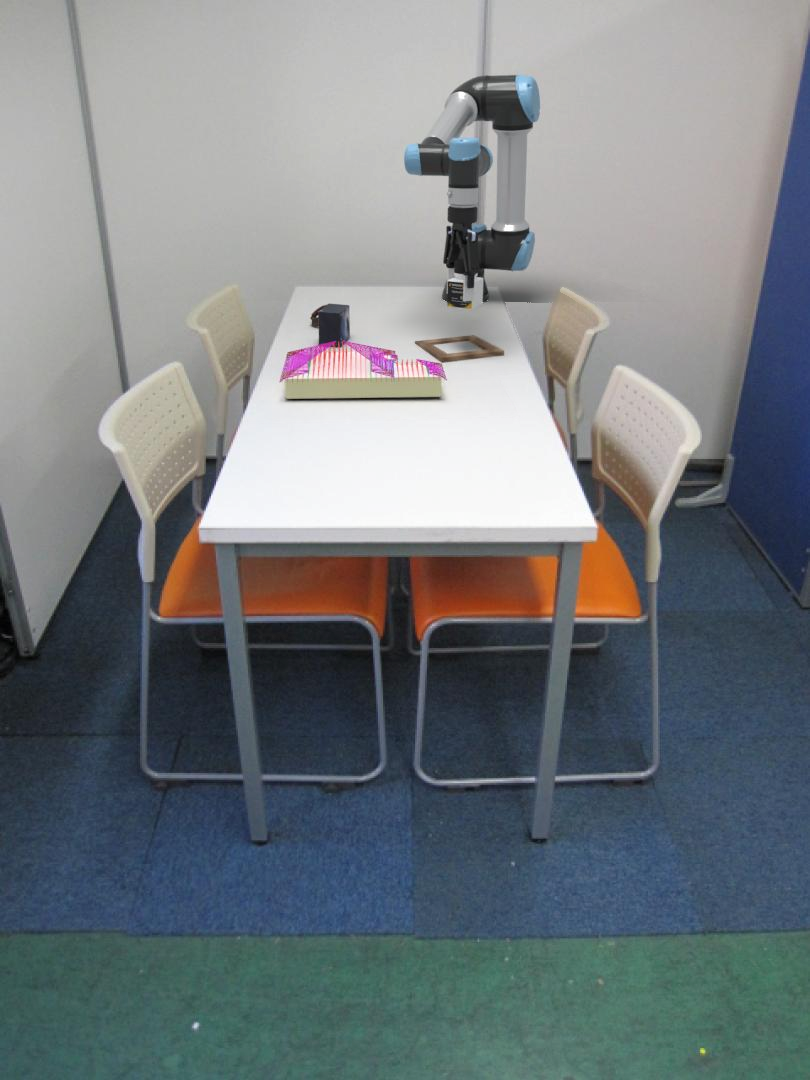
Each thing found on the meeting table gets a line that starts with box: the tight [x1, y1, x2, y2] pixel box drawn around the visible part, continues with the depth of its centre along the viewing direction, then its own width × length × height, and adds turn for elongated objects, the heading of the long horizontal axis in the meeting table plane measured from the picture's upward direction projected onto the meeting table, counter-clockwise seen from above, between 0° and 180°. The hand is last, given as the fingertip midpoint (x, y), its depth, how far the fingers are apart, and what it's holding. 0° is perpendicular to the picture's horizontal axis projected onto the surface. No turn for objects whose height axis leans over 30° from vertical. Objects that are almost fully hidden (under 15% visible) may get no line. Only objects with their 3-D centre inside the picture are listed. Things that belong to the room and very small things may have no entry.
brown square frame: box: [414, 334, 505, 364], centre depth 235 cm, size 18×18×2 cm
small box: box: [317, 303, 351, 349], centre depth 238 cm, size 11×6×10 cm, turn 168°
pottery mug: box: [309, 304, 327, 328], centre depth 255 cm, size 12×9×8 cm
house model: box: [279, 341, 448, 400], centre depth 209 cm, size 38×25×10 cm
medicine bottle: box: [446, 258, 483, 311], centre depth 228 cm, size 7×7×12 cm
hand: (459, 296), depth 228 cm, fingers closed on medicine bottle, 9 cm apart
